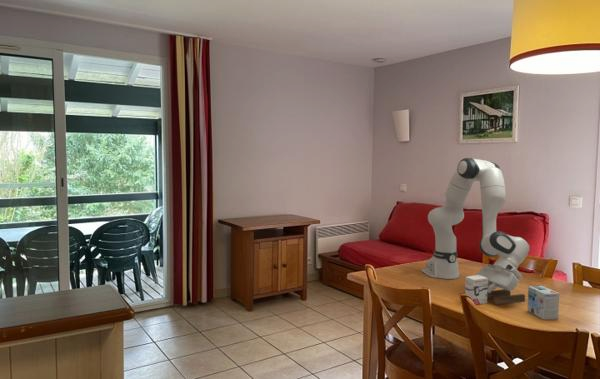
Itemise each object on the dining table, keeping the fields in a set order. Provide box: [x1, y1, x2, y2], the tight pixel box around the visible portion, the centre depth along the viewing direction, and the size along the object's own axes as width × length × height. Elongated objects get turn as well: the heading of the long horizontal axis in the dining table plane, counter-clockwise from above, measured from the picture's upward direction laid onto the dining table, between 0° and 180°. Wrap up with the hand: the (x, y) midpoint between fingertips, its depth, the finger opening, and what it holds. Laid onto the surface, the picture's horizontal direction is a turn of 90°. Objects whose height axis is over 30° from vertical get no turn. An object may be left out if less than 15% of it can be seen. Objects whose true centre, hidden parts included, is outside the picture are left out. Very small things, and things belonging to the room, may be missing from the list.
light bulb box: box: [527, 285, 560, 321], centre depth 176 cm, size 11×7×11 cm, turn 5°
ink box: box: [464, 274, 488, 306], centre depth 191 cm, size 8×5×12 cm, turn 111°
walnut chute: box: [487, 288, 526, 306], centre depth 195 cm, size 10×16×3 cm, turn 108°
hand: (486, 291), depth 192 cm, fingers closed, pressing on ink box
